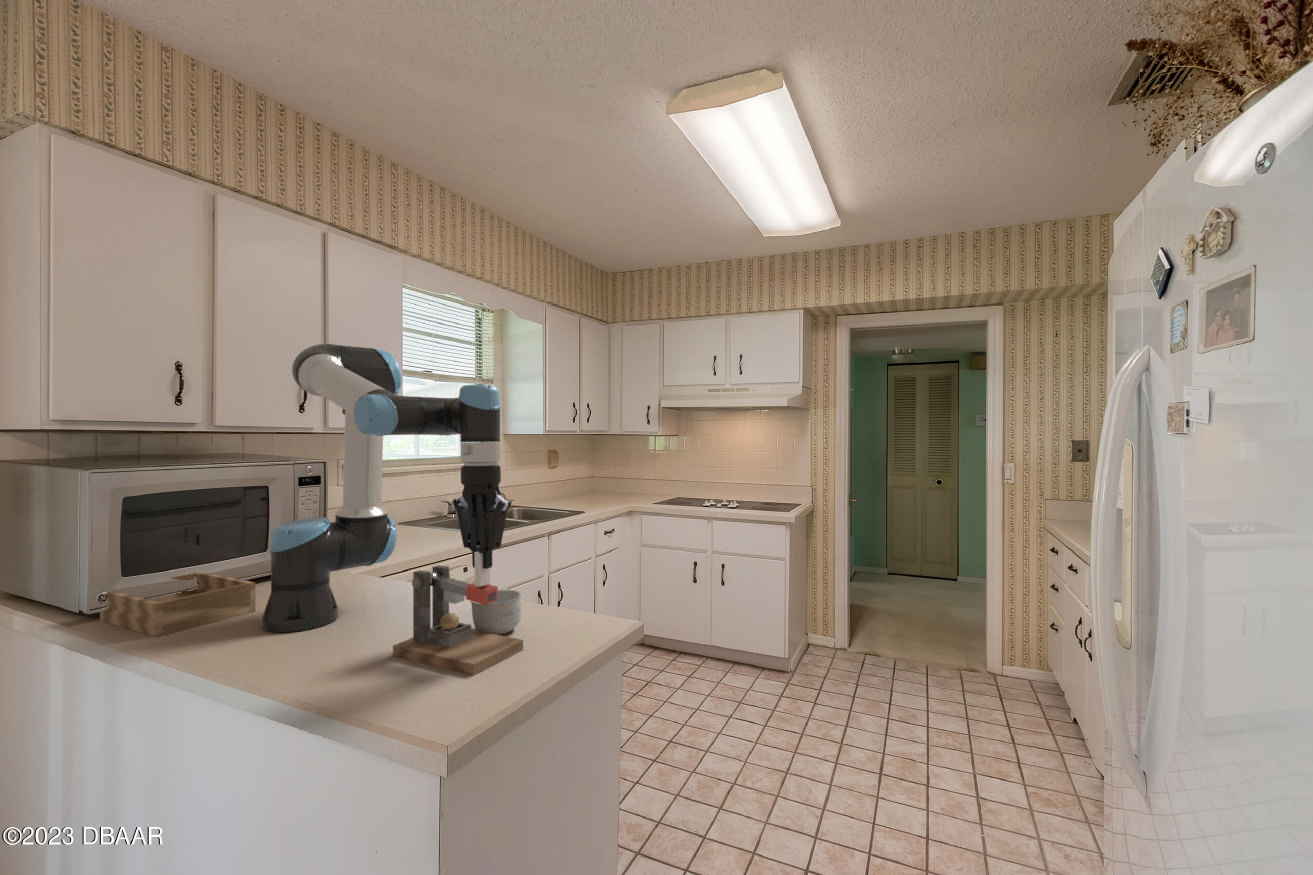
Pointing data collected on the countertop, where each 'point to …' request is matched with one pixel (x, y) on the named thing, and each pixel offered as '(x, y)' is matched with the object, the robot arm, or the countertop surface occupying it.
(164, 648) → the countertop surface
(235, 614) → the open wooden box
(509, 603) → the teacup
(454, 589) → the lever
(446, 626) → the walnut
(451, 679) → the countertop surface
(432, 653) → the press base
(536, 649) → the countertop surface
